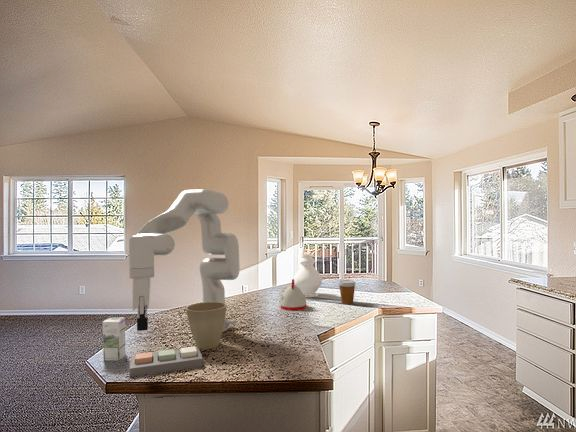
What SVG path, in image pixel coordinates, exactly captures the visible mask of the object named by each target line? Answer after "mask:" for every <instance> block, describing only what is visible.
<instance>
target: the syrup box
mask: <svg viewBox="0 0 576 432" xmlns="http://www.w3.org/2000/svg"><path fill="white" fill-rule="evenodd" d="M102 348H103V349H102V350H103V351H102V352H103V361H104V360H113V361H121V360H122V359H123V358H124V357H125V356H126V355H127V350H126V317H108V318H106V319H104V320H103V321H102ZM120 359H121V360H120Z"/></svg>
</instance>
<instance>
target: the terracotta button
mask: <svg viewBox="0 0 576 432" xmlns="http://www.w3.org/2000/svg"><path fill="white" fill-rule="evenodd" d="M152 353H153V351H149V352H148V351H147V352H140V353H135V355H136V358H135V364H141V363H148V362H152Z"/></svg>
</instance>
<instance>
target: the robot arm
mask: <svg viewBox="0 0 576 432" xmlns="http://www.w3.org/2000/svg"><path fill="white" fill-rule="evenodd" d="M229 206H230V205H229V200H228V197H227V196H226V195H225V194H224V193H221V192H219V191H215V190H212V189H207V188H205V189H204V188H201V189H200V188H199V189H198V188H197V189H185V190H183V191H181V192H180V193H179V194H178V195H177V197H176V198H175V200H174V201H173V203H172V204H171V205H170V206H169V208H168V209H167V210H166V211H165V212H163V213H160V214H158V215H157V216H156V217H154V218H152V219H150V220H149V221H147V222H146V223H144V225H142V226H141V227H140V229H139V230H138V231H137V233H136V234H135V235H134V234H133V235H132V236H130V237H129V239H128V240H129V241H128V246H129V247H128V249H129V250H128V260H129V261H128V262H129V265H128V266H129V272H128V273H129V279H130V280H132V311H135V310H137V317H136V330H137V331H138V332H143V331H148V329H149V327H148V326H149V321H148V319H149V317H148V309H149V308H150V303H151V302H150V301H151V279H152V278H154V277H155V256H158V257H159V256H160V257H162V256H167V255H169V254H171V253H172V252H173V251H174V249H175V245H176V243H175V239H174V238H173V237H172V235H170V234H168V233H171V232H174V231H176V230H180V229H181V228H184V227H185V226H186V225H187V223H188V222H189V220H190V219H191V217H192V216H193V215H195V216H196V217H197V218H198V220H199V223H200V228H201V229H200V230H201V246H202V250H203V253H204V254H206V255H212V256H213V255H214V256H224V257H207V258H204V259H203V260H201V262H200V264H199V274H200V278H201V279H200V280H201V287H202V288H201V289H202V302H222V303H225V304H226V299H225V297H226V294H225V293H226V290H225V286H224V284H223V283H222V281H233V280H236V279H237V278H239V276H240V275H239V274H240V269H241V267H240V266H241V265H240V249H239V247H240V244H239V240H238V237H237V236H236V235H235V234H234V233H232V232H222V226H221V225H222V224H221V219H220V218H219V217H220V216H218V215H221V214H224V213H226V211H228V209H229ZM236 324H237V320H236V319H232V318H229V319H227V318H226V317H225V321H224V327H223V331H222V333H225V332H227V331H228V330H229V329H230V325H236Z"/></svg>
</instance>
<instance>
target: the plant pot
mask: <svg viewBox="0 0 576 432" xmlns="http://www.w3.org/2000/svg"><path fill="white" fill-rule="evenodd" d="M185 309H186V315H187V321H188V325H189V328H190V332H191V335H192V338H193V340H194V343H195V345H196V346H195V347H199V349H200V350H211V349H215V348H217V347H219V345H220V341H221V338H222V335H223V332H222V331H223V327H224V321H225V318H226V314H227V313H226V312H227V304H226V302H225V303H222V302H203V301H202V302H198V303H194V304H193V303H192V304H190V305H187V306H186V308H185Z"/></svg>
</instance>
